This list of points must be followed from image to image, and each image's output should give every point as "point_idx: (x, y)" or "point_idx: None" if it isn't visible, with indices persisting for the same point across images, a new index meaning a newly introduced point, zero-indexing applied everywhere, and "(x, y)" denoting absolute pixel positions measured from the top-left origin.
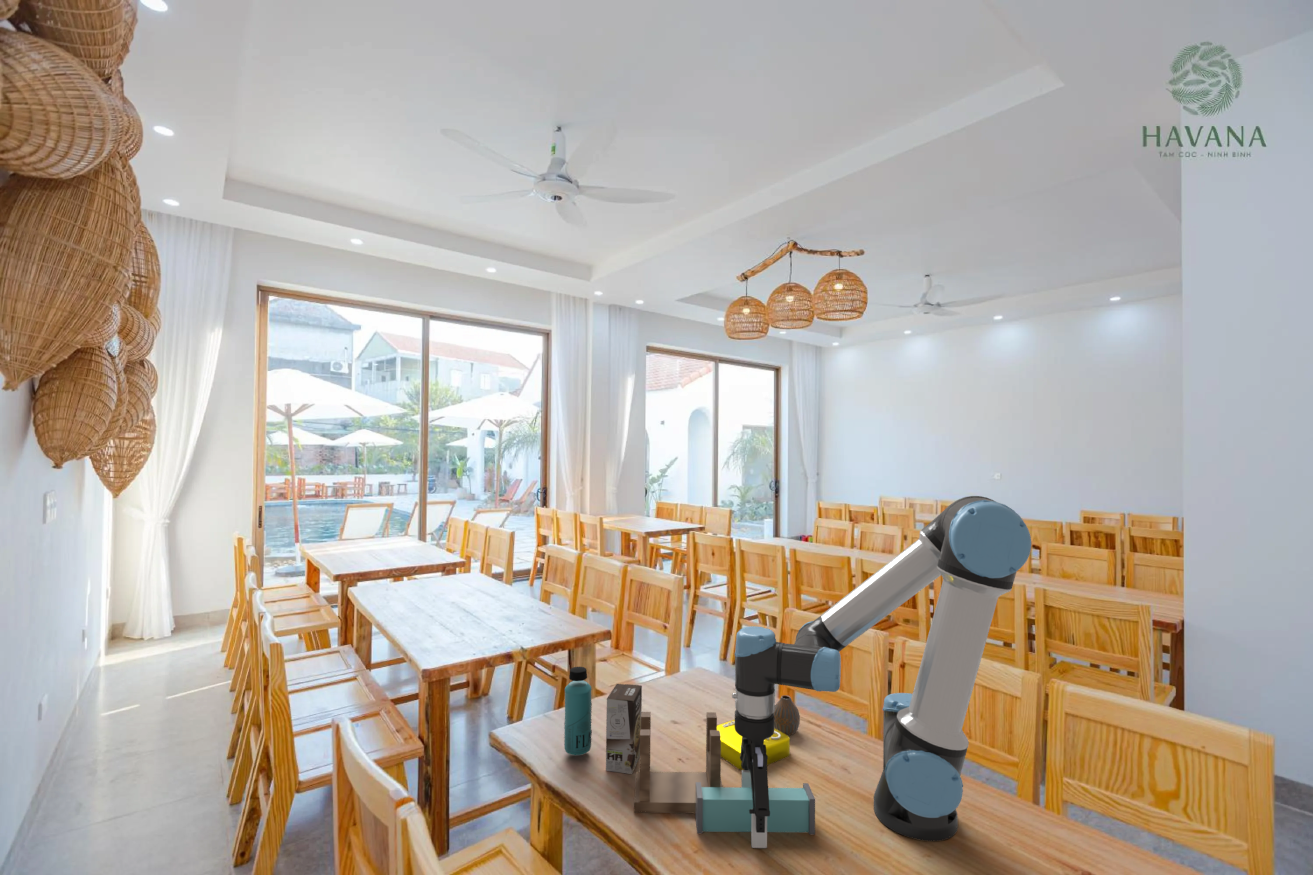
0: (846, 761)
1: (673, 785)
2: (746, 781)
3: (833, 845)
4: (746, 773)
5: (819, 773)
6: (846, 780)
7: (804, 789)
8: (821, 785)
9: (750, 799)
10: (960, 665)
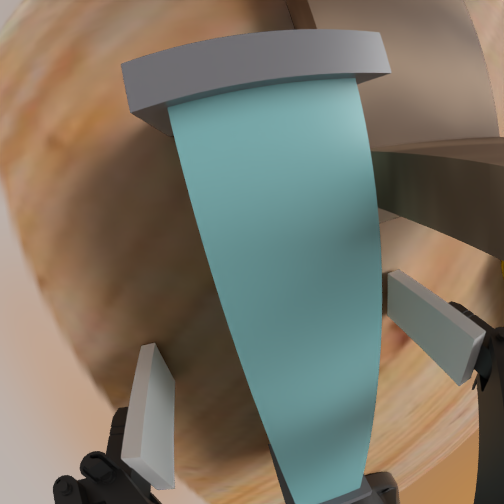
0: (473, 408)
1: (413, 1)
2: (442, 332)
3: (239, 472)
4: (465, 352)
5: (463, 392)
6: (435, 429)
7: (352, 490)
8: (433, 409)
9: (265, 424)
10: None
